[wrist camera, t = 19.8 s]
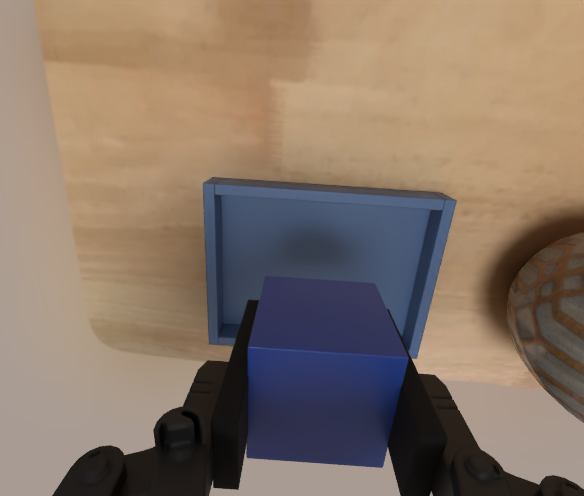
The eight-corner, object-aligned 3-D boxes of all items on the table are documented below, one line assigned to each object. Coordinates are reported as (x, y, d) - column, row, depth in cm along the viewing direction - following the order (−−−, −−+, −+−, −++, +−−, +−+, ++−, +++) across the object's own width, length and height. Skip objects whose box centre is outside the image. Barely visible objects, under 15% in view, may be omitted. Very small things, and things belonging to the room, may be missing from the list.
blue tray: (216, 326, 30) (208, 344, 27) (212, 177, 25) (202, 182, 22) (407, 339, 30) (417, 359, 27) (441, 192, 25) (457, 200, 22)
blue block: (262, 363, 16) (246, 458, 12) (265, 275, 15) (247, 346, 10) (360, 370, 16) (382, 468, 12) (375, 282, 15) (409, 357, 10)
